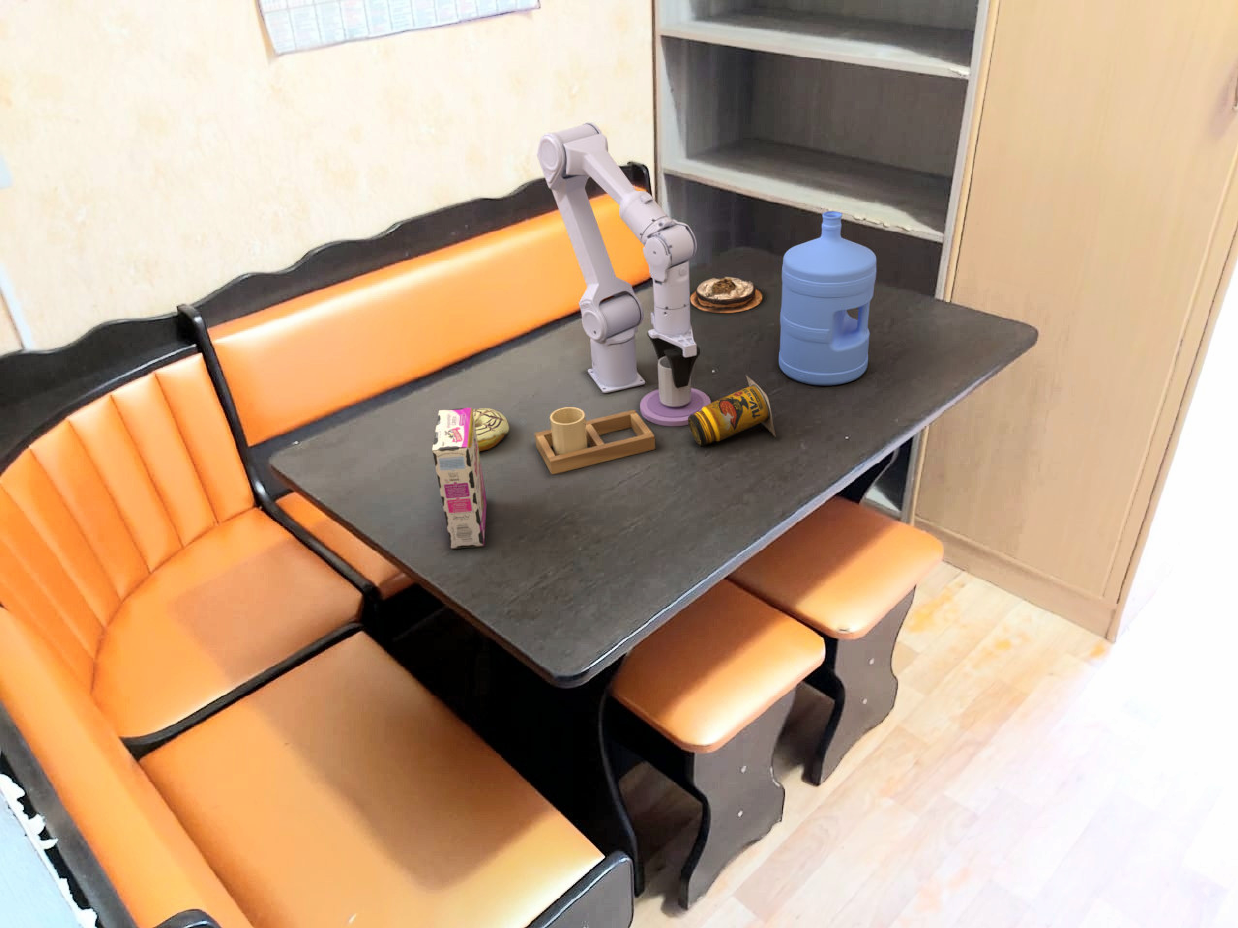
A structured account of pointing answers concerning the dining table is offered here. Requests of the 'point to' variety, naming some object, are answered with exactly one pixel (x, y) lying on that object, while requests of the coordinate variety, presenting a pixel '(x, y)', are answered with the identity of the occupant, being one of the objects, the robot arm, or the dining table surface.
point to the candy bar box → (460, 477)
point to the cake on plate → (725, 295)
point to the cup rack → (598, 443)
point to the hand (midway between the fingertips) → (674, 378)
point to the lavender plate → (672, 408)
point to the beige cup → (568, 430)
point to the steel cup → (671, 386)
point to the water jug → (826, 307)
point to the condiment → (731, 415)
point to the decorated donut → (489, 427)
